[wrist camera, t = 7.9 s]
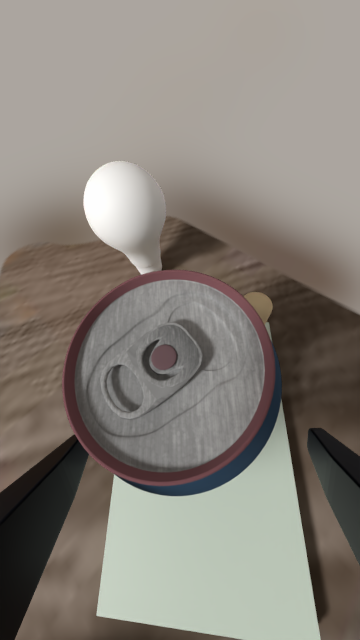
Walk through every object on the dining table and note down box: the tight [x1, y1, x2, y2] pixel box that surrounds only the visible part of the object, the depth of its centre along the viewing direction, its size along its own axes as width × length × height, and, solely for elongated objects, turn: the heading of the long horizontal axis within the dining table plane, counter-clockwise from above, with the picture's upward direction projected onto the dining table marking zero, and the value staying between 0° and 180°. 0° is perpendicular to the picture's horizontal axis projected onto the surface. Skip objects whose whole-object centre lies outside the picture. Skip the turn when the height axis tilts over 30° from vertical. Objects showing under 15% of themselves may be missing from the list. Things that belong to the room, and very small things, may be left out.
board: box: [96, 292, 320, 640], centre depth 14 cm, size 18×12×6 cm, turn 179°
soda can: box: [62, 270, 282, 496], centre depth 11 cm, size 7×7×12 cm
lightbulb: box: [84, 161, 166, 275], centre depth 19 cm, size 6×6×11 cm
